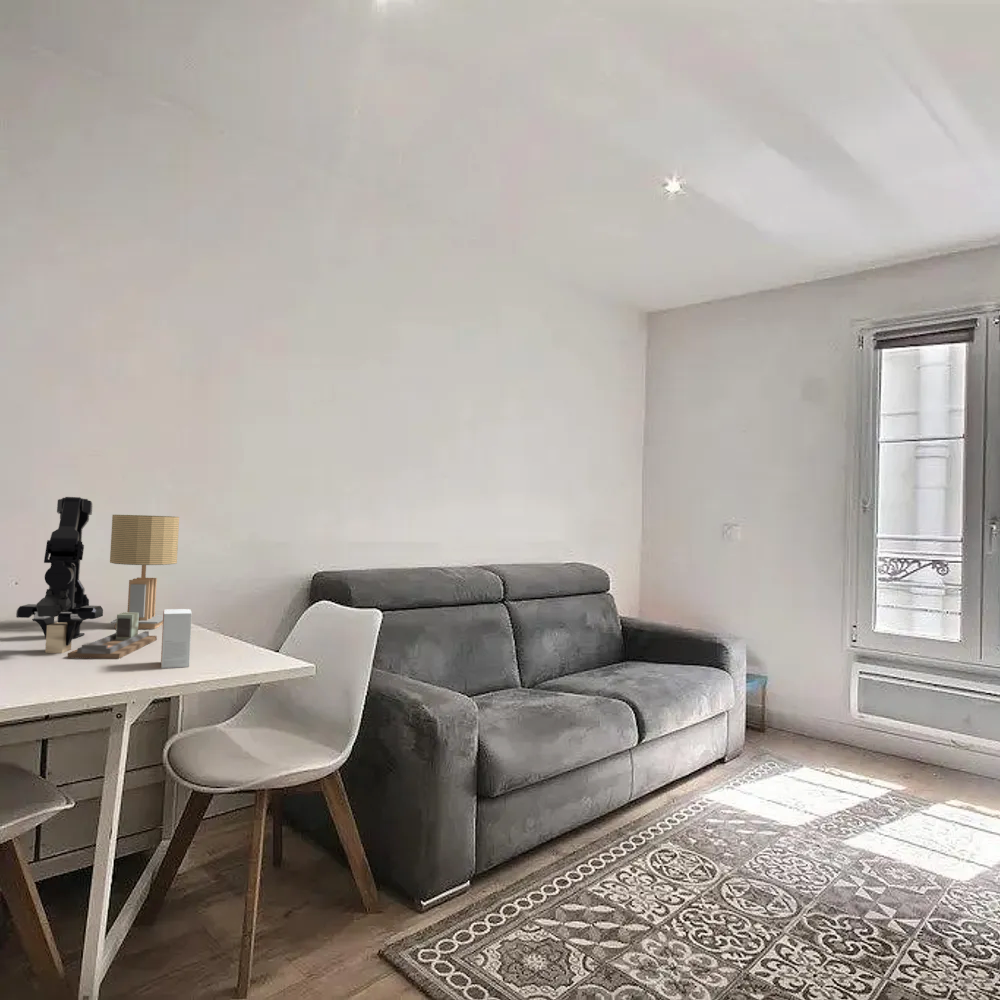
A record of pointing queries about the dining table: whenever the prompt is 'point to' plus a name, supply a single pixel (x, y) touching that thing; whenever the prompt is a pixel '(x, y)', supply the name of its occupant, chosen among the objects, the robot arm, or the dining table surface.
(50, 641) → the tan wooden block
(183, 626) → the small box
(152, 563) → the desk lamp
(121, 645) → the rail base
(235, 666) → the dining table surface
